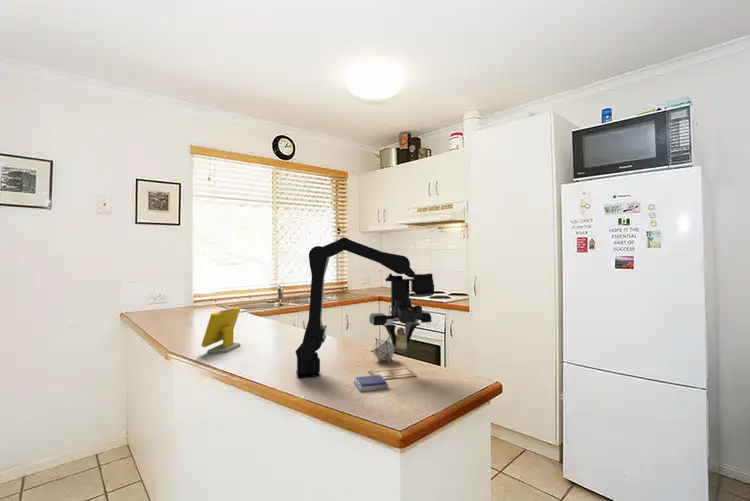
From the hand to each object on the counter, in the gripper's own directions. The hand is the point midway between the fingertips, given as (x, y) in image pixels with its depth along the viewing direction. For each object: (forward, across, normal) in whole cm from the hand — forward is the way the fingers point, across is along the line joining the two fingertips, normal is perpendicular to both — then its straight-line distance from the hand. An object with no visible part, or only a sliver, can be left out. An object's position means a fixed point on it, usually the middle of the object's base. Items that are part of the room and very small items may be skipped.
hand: (400, 345), depth 120 cm
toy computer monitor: (+9, -56, +50) cm, 76 cm away
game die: (+9, -1, +14) cm, 17 cm away
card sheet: (+8, -3, 0) cm, 9 cm away
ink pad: (+8, -12, -8) cm, 17 cm away
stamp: (+2, 0, 0) cm, 2 cm away
